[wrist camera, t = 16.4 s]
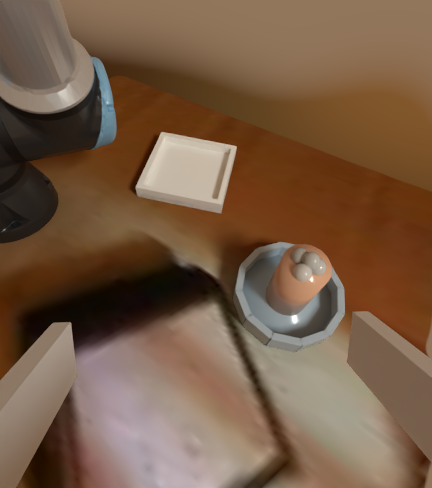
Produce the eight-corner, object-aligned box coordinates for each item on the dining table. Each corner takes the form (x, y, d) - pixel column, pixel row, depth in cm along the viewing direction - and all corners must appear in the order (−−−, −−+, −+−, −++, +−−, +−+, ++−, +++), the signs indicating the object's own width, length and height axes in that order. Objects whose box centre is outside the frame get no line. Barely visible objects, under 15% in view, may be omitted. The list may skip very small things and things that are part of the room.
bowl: (225, 336, 44) (228, 329, 41) (242, 245, 52) (245, 234, 49) (335, 361, 43) (346, 356, 40) (334, 264, 51) (343, 254, 48)
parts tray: (137, 196, 56) (135, 187, 54) (162, 141, 65) (161, 131, 63) (220, 213, 56) (222, 204, 53) (235, 155, 64) (236, 146, 62)
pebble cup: (263, 310, 45) (284, 274, 35) (267, 273, 48) (288, 230, 38) (305, 319, 45) (339, 286, 35) (307, 281, 48) (338, 240, 38)
